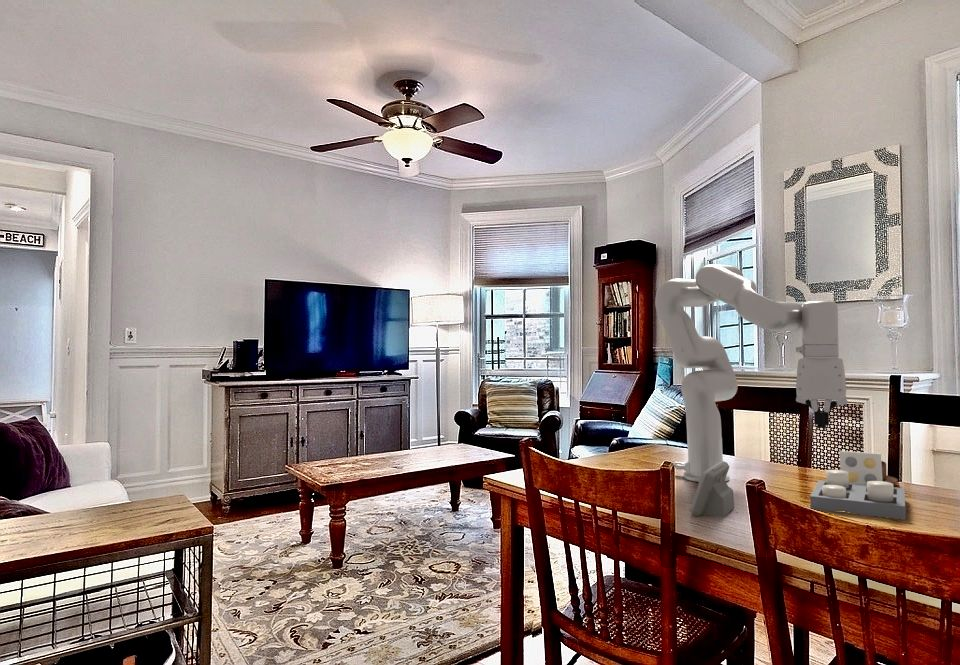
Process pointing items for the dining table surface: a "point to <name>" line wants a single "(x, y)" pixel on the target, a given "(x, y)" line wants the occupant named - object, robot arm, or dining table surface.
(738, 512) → the dining table surface
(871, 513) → the button board
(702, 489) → the grey slanted panel stand
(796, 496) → the dining table surface
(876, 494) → the button
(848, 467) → the card
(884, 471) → the cup and saucer
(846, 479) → the button
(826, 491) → the button
